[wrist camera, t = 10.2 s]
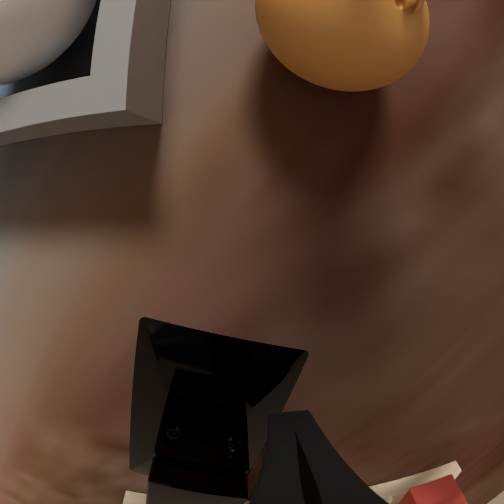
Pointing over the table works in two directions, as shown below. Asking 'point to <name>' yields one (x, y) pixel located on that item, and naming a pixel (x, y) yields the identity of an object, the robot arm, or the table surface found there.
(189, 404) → the black piece
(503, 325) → the table surface
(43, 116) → the housing
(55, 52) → the white glossy sphere
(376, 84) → the figurine
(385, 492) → the space track
